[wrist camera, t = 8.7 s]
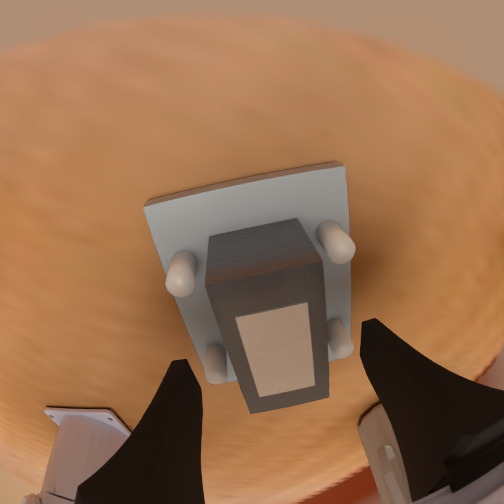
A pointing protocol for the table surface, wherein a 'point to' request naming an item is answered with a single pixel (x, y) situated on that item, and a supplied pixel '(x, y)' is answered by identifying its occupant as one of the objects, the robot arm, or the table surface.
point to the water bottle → (384, 457)
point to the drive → (271, 312)
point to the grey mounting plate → (244, 216)
